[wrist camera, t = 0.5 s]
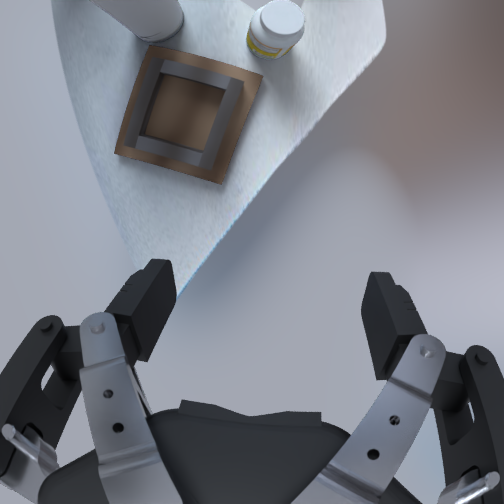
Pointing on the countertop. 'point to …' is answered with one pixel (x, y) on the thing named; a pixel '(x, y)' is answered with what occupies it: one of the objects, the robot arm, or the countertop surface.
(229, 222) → the countertop surface
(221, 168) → the square tray with rim
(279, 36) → the supplement bottle
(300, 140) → the countertop surface
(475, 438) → the robot arm
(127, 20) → the travel mug
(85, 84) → the countertop surface
